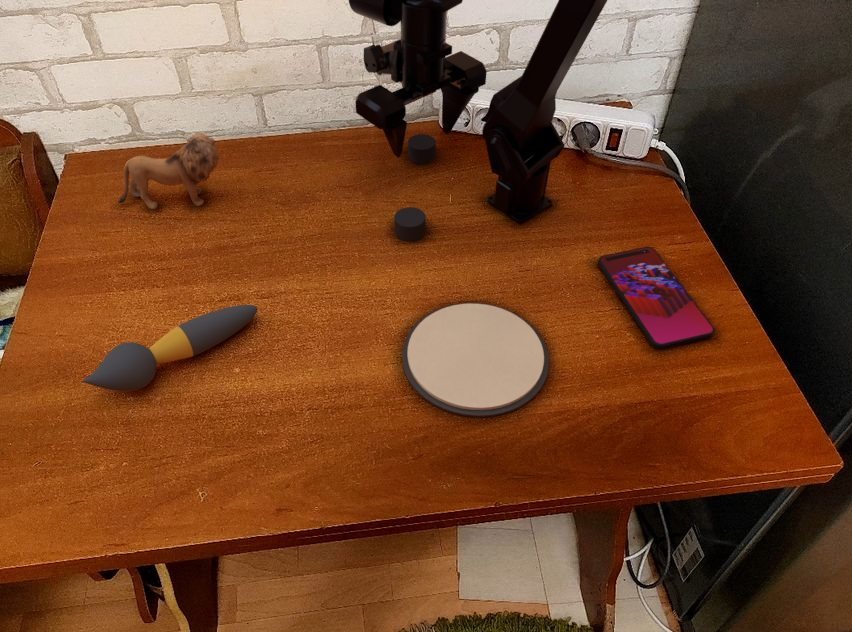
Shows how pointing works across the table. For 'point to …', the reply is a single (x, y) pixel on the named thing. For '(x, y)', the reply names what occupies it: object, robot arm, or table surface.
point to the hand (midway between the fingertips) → (422, 144)
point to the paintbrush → (168, 348)
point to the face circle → (475, 360)
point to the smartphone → (655, 298)
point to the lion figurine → (173, 169)
